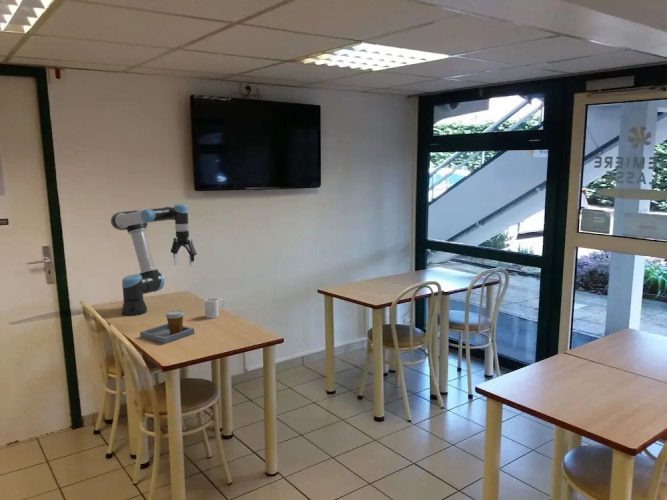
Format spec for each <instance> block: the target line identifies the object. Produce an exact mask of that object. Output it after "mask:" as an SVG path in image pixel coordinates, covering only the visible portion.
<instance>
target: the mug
mask: <svg viewBox="0 0 667 500" xmlns="http://www.w3.org/2000/svg"><path fill="white" fill-rule="evenodd" d="M220 301H222V302H223V303H222V305H221V307H220V308H219V302H220ZM224 307H225V299H223V298H219V299H218V298H215V297H211V298H207V299H205V300H204V310H205V311H204V312H205V318H207V319H215V318H218V317H219V316H220V315H219V314H220V313H219V312H221V310H222V309H223V308H224Z"/></svg>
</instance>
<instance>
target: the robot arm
mask: <svg viewBox="0 0 667 500" xmlns="http://www.w3.org/2000/svg"><path fill="white" fill-rule="evenodd" d="M170 220H171V221H174V222H175V223H174V224H175V237H174V238H173V242H172V246H171V249H170V253H172V254H173V261H174V263H173V264H174V265H175V266H176V265H179V263H180V262H179V261H180V260H179V251H180V248H181V247H184V248H185V250H186V251H187V253H188V254H189V256H188V258H189V260H188V262H189V268H193V267H195V256H196V255H198V253H197V251H196V248H195V245H194V243H193V239H191V238H190V239H189V237H190V231H189V227H190V226H189V211H188V205H187V204H175V205H174V207H173V206H172V207H171V206H164V207H157V208H147V209H143V210H137V209H136V210H129V211H118V212H116V213H114V214H113V215H112V216H111V219H110V223H111V226H112V227H113V229H116V230H118V231H127V233H128V235H130V236H131V239H132V242H133V243H132V244H133V247H134V251H135V254H136V257H137V261H138V265H139V268H140V272H139V273H135V274H129V275H127V276H125V277H123V279H122V281H121V283H122V285H121V287H122V295H123V302H122V306H121V311H120V312H121V315H122V316H130V317H132V316H133V317H134V316H139V315H143V314H146V313H147V312H148V307H147V305H146V303H145V300H144V295H145V294H150V293H154V292H158V291H161V290H162V289H163V288H164V286H165V276H164V274H163V273H162V272H160V271H159V270H158V268H157V267H155V264H154V260H153V257H152V253H151V249H150V247H149V242H148V239H147V234H146V231H147V227H148V225H149V223H153V222H154V223H156V222H163V221H170Z"/></svg>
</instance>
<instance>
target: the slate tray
mask: <svg viewBox="0 0 667 500" xmlns="http://www.w3.org/2000/svg"><path fill="white" fill-rule="evenodd" d="M139 334H140V335H139V337H140V338H142V339H145V340H149V341H152V342H156V343H158V344H163V345H166V344H169V343H172V342H175V341H177V340H180V339H183V338H187V337H188V336H192V335H194V334H195V327H194V328H193V327H189V326H185V325H183V327H182V332H179V333H176V334H173V335H170V331H169V325H168V322H167V323H164V324H161V325H158V326H155V327H152V328H149V329H145V330H142V331H140V333H139Z"/></svg>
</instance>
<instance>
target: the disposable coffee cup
mask: <svg viewBox="0 0 667 500" xmlns="http://www.w3.org/2000/svg"><path fill="white" fill-rule="evenodd" d="M184 315H185V313H184V311H183V310H180V309H175V310H170V311H168V312H166V315H165V317H166V320H167V323H168V325H169V331H170V335H173V334H176V333H179V332H182V327H183V326H184V323H183V322H184Z"/></svg>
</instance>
